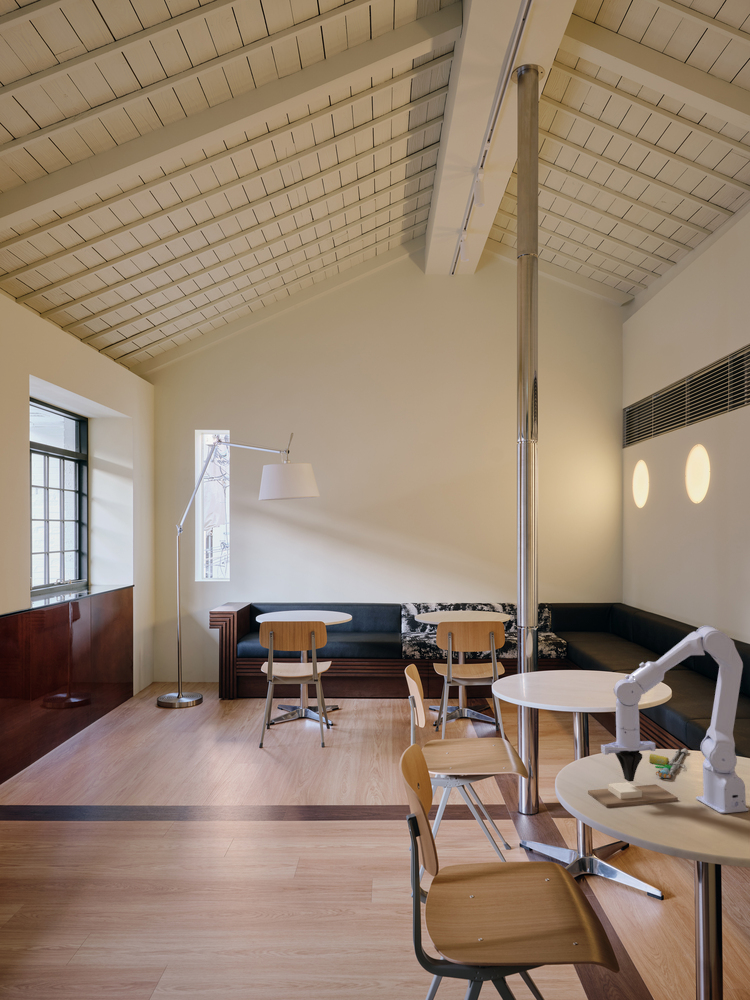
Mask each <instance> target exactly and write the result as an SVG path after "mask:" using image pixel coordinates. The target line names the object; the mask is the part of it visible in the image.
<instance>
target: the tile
mask: <svg viewBox="0 0 750 1000" xmlns="http://www.w3.org/2000/svg"><path fill="white" fill-rule="evenodd" d="M635 786H636V785H633V784H632V783H630V782H629V781H625V782H614V783H607V789H608V791H610V792H611V793H613V794H614V795H616V796H617V797H618V798H620V799H627V798H638V797H642V791H641V790H640V789H638V788H637V787H635Z"/></svg>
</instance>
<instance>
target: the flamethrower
mask: <svg viewBox="0 0 750 1000" xmlns="http://www.w3.org/2000/svg"><path fill="white" fill-rule="evenodd" d="M688 753H689V750H688V749H687V748H686V747H685V748H679V749H678V750H677V751H675V754H674V756H673V757H672V758H671V760H670V759H669V757H668V756H664V755H663V756H662V755H659V754H654V753H650V754H649V758H648V762H649V763H650V764H653V765H655V766H654V768H655V769H661V770H657V771H656V772H655V775H656V776H659V778H662V779H663V778H664V779H667V778H668V779H670V778H671V775H672V776H675V775H676V774H675V773H674V772H676V770H678V769H679V767H682V768H683V770H682V772H685V770H686V764H685V763H684V764H681V763H680V762H681V760H682V759H683V757H684V756H687V755H688ZM679 755H680V756H679ZM678 757H679V758H678ZM677 758H678V760H676V759H677Z"/></svg>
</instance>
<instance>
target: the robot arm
mask: <svg viewBox="0 0 750 1000" xmlns="http://www.w3.org/2000/svg"><path fill="white" fill-rule="evenodd" d="M705 652H706V653H708V654H709V655H710V656H711V658H713V660H714V661H715V662H716V663H717V664H718V667H719V668H718V674H717V681H716V687H715V692H714V694H715V695H714V701H713V706H712V714H711V719H710V726H709V727H708V728H707V730H706V734H705V737H704V738H703V739H702V741H701V742H700V753H701V754H702V755H703V757H704V758H705V759H704V760H703V762H702V786H703V795H700V796H696V797H695V799H696V800H697V801H700V802H701V803H703V804H704V805H706V806H708V807H709V808H711V809H712V810H715V811H716V812H718V813H720V814H729V813H731V814H732V813H741V812H747V811H749V810H750V808H749V807H746V806H747V805H746V804H747V803H746V801H747V800H746V784H745V782H744V780H743V779H742V778H741V777H740V776H738V774H737V773H736V766H737V763H738V760H737V756H736V755H737V754H736V752H735V747H736V743H735V739H734V733H733V732H734V727H735V726H734V725H735V721H736V720H735V719H736V713H737V707H738V700H739V695H740V694H739V693H740V687H741V682H742V681H741V680H742V674H743V668H744V663H743V661H742V658H741V656H740V654H739V652H738V650H737V648H736V645H735V641H734V640H733V639H731V637H729V635H728V634H726V633H725V632H724V631H721V630H718V629H717V628H716V627H715V626H712V625H703V626H700V627H698V629H696V631H695V630H694V631H692V632H690V633H689V634H687V636H685V637H684V638H682V640H681V641H680V642H678V643H677V644H676V645H674V646H673V647H672V648H671V649H669V650H668V651H667V652H665V653H664V655H662V656H661V657H659V659H658V660H656V661H648V660H647V662H645V663H644V661H642V662H641V663H639V668H637V669H635V670H634V671H633V672H632V673H630V674H626V675H624V679H623V678H622V679H619V680H618V681H616V683H615V685H614V688H613V693H614V695H615V697H616V701H615V706H616V707H615V726H616V727H615V731H616V735H615V736H616V741H613V742H610V743H607V744H606V743H605V744H600V752H601V753H602V754H603V755H609V754H615V757H616V758H617V759H618V762H619V764H620V766H621V770H622V773H623V777H624V778H623V779H625V780H626V782H629V783H630V782H634V781H635V776H636V773H637V769H638V766H639V764H640V763H641V761H642V759H643V754H642V753H641V752H643V751H645V752H646V751H651V752H654V751H656V742H654V741H652V740H647V741H646V740H642V741H641V737H640V733H641V732H640V731H641V730H640V710H639V703H640V701H641V699H642V695H645V694H646V693H648V692H649V691H650V690H652V689H654V688H655V687H656V686H657V685H659V684H660V683H661V682H662V681H664V679H665V673H666V672H667V671H669V670H670V669H672V668H674V667H675V666H676V665H678V664H679V663H681V662H682V661H684V660H686V659H687V658H689V657H690V656H705V655H706V654H705Z"/></svg>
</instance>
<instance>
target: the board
mask: <svg viewBox="0 0 750 1000" xmlns="http://www.w3.org/2000/svg"><path fill="white" fill-rule="evenodd" d="M634 786H635V787H637V788H638V789H640V790H641V791H642V797H638V798H627V799H620V798H618V797H617V796H616V795H614V794H613V793H611V792H610V791H608V788H602V789H601V788H600V789H588V790H587V794H588V795H590V796H591V797H592V798H593V799H595V800H596V801H598V803H600V804H601V805H602V806H604V807H606V808H615V807H626V806H635V805H636V806H637V805H647V804H657V803H658V804H659V803H665V802H666V803H669V802H677V801H679V799H678V797H677V796H676V795H674V794H673V793H671V792H669V791H667V790H666V789H664V788H662V787H661V786H660V785H658V784H646V785H634Z"/></svg>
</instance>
